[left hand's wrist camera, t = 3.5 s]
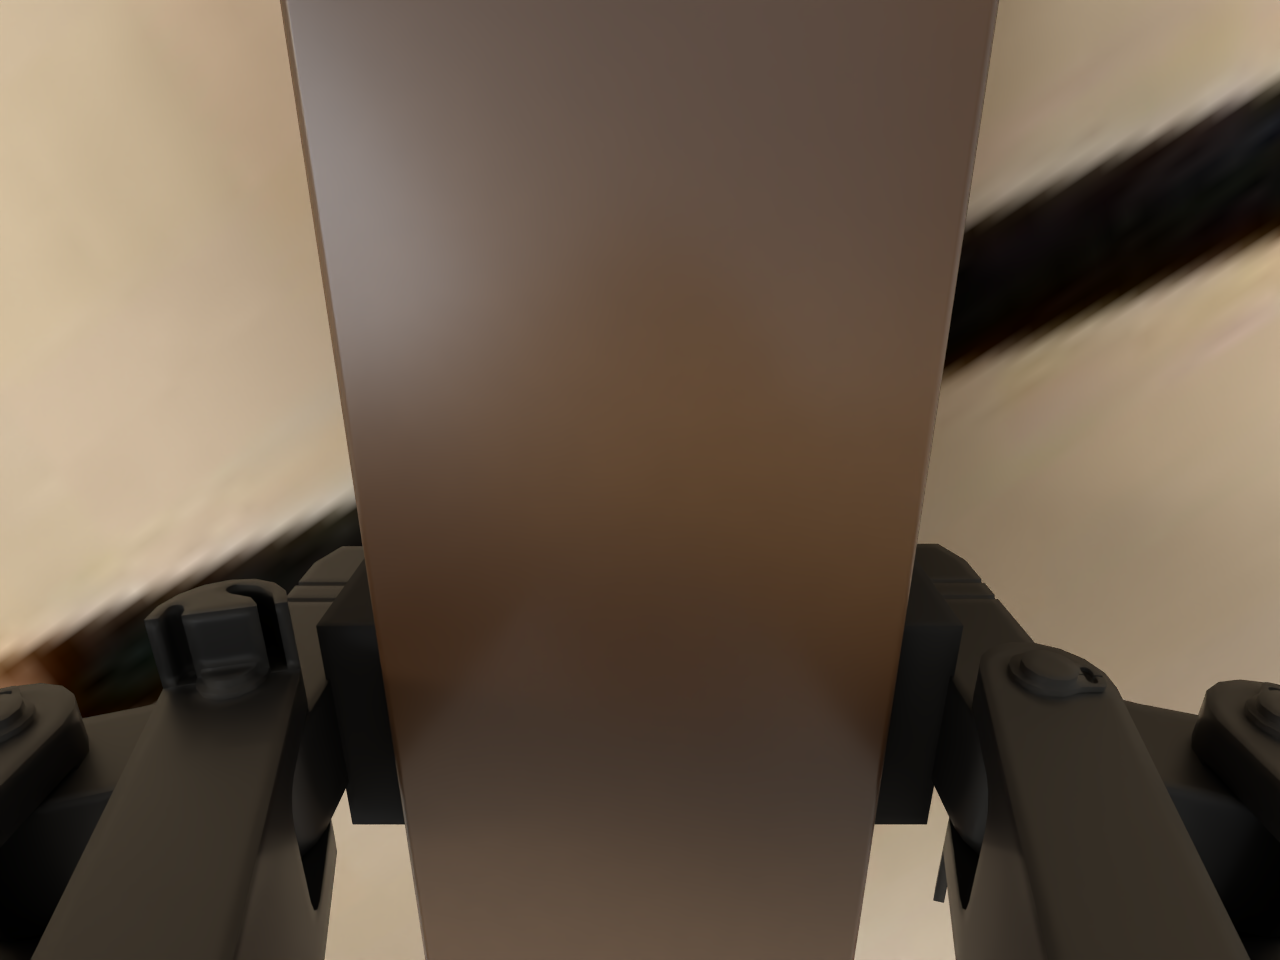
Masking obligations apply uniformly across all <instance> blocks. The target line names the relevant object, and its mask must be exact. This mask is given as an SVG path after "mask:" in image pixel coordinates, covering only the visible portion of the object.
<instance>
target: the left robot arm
mask: <svg viewBox="0 0 1280 960" xmlns="http://www.w3.org/2000/svg"><path fill="white" fill-rule="evenodd" d="M994 596H995V595H994V594H993V593H992V591H991V590H990V589H989V588H988V587H987V586H986V584H985V583H981V578H980V577H979V576H978V575H977V574H976V572H975V571H974V570H973V569H972V568H971V566H970V565H969V564H968V563H967V562H966V560H964V559H962V558H961V557H959V556H957V555H956V554H954V553H952V552H951V551H949V550H947V549H945V548H944V547H942V546H940V545H939V544H917V546H916V553H915V559H914V566H913V572H912V579H911V586H910V592H909V599H908V606H907V612H906V619H905V625H904V632H903V639H902V645H901V652H900V658H899V665H898V672H897V678H896V685H895V692H894V698H893V705H892V711H891V718H890V725H889V731H888V738H887V744H886V751H885V758H884V764H883V771H882V778H881V784H880V791H879V797H878V804H877V811H876V817H875V824H927V821H928V815H929V810H930V804H931V799H932V793H933V788H934V786H935V788H936V790H937V792H938V794H939V796H940V799H941V801H942V803H943V805H944V807H945V809H946V811H947V813H948V815H949V821H948V826H947V831H946V836H945V841H944V846H943V851H942V856H941V861H940V866H939V872H938V877H937V882H936V887H935V893H934V901H938V902H943V903H944V899H945V894H946V889H947V888H948V896H949V905H950V913H951V922H952V930H953V939H954V947H955V956H956V960H1280V685H1278V684H1273V683H1269V682H1255V681H1247V680H1233V681H1225V682H1218V683H1217V684H1215V685H1214V686H1212V687H1211V688H1210V689H1208V690H1207V691H1206V694H1205V697H1204V700H1203V703H1202V706H1201V709H1200V712H1199V715H1194V714H1189V713H1184V712H1179V711H1173V710H1168V709H1163V708H1158V707H1153V706H1147V705H1142V704H1137V703H1133V702H1129V701H1125V700H1123V699H1122V697H1121V695H1120V693H1119V691H1118V689H1117V687H1116V686H1115V685H1114V684H1113V682H1112V681H1111V680H1110V679H1109V678H1108V676H1107V675H1106V674H1105V673H1104V672H1103V671H1101V670H1100V669H1098V668H1097V667H1095V666H1094V665H1092V664H1091V663H1089V662H1088V661H1086V660H1085V659H1083V658H1080V657H1078V656H1076V655H1073V654H1071V653H1068V652H1066V651H1064V650H1061V649H1058V648H1054V647H1049V646H1045V645H1041V644H1036V643H1034V642H1033V640H1032V639H1031V638H1030V637H1029V636H1028V634H1027V633H1026V632H1025V631H1024V630H1023V628H1022V627H1021V626H1020V625H1019V624H1018V622H1017V621H1016V620H1015V619H1014V618H1013V616H1012V615H1011V614H1010V613H1009V612H1008V611H1007V609H1006V608H1005V607H1004V606H1003V605H1002V603H1001V602H1000V601H999V600H998V599H995V597H994ZM144 622H145V626H146V629H147V633H148V636H149V640H150V643H151V647H152V651H153V654H154V658H155V661H156V665H157V668H158V672H159V675H160V679H161V682H162V686H163V690H162V693H161V695H160V697H159V699H158V701H157V703H156V704H152V705H148V706H144V707H140V708H135V709H129V710H124V711H119V712H114V713H109V714H104V715H98V716H93V717H88V718H83V719H82V717H81V714H80V711H79V708H78V705H77V702H76V699H75V696H74V694H73V693H71V692H70V691H69V690H67V689H66V688H64V687H63V686H59V685H51V684H43V683H38V684H30V685H22V686H10V687H6V688H1V689H0V960H324V958H325V950H326V941H327V932H328V924H329V915H330V907H331V898H332V890H333V881H334V872H335V864H336V855H337V849H336V843H335V836H334V831H333V826H332V821H331V818H332V816H333V814H334V812H335V810H336V808H337V806H338V804H339V801H340V799H341V797H342V795H343V793H344V791H345V789H346V791H347V796H348V802H349V807H350V812H351V818H352V823H353V824H405V821H404V814H403V808H402V801H401V795H400V788H399V782H398V775H397V768H396V762H395V755H394V749H393V742H392V735H391V729H390V722H389V716H388V709H387V702H386V696H385V689H384V683H383V676H382V669H381V663H380V656H379V650H378V643H377V636H376V630H375V623H374V617H373V610H372V603H371V597H370V590H369V584H368V577H367V570H366V564H365V557H364V551H363V546H342V547H340V548H339V549H337V550H335V551H334V552H332V553H330V554H329V555H327V556H325V557H324V558H322V559H320V560H319V561H317V562H315V563H314V564H313V565H312V567H311V568H310V569H309V570H308V571H307V573H306V574H305V575H304V576H303V577H302V579H301V580H300V581H299V586H295V587H294V588H293V589H292V591H291V592H290V593H289V594H288V595H286V590H284V589H283V588H281V587H280V586H278V585H277V584H276V583H273V582H268V581H263V580H258V579H240V580H228V581H223V582H218V583H213V584H207V585H203V586H201V587H198V588H195V589H192V590H189V591H187V592H184V593H181V594H178V595H177V596H175V597H173V598H171V599H170V600H168V601H166V602H164V603H163V604H161V605H159V606H157V607H156V608H155V609H154V610H153V611H152V612H151V613H150V615H149V616H148V617H147V618H146V619H145V620H144Z"/></svg>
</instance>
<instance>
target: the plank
mask: <svg viewBox="0 0 1280 960" xmlns="http://www.w3.org/2000/svg"><path fill="white" fill-rule="evenodd" d="M280 3H281V10H282V16H283V23H284V30H285V36H286V43H287V49H288V56H289V63H290V69H291V76H292V82H293V89H294V96H295V102H296V109H297V115H298V122H299V129H300V135H301V142H302V148H303V155H304V162H305V168H306V175H307V181H308V188H309V195H310V201H311V208H312V214H313V221H314V228H315V234H316V241H317V247H318V254H319V260H320V267H321V274H322V280H323V287H324V293H325V300H326V307H327V313H328V320H329V326H330V333H331V340H332V346H333V353H334V359H335V366H336V373H337V379H338V386H339V392H340V399H341V406H342V412H343V419H344V425H345V432H346V439H347V445H348V452H349V458H350V465H351V472H352V478H353V485H354V491H355V498H356V505H357V511H358V518H359V524H360V531H361V538H362V544H363V551H364V557H365V564H366V570H367V577H368V584H369V590H370V597H371V603H372V610H373V617H374V623H375V630H376V636H377V643H378V650H379V656H380V663H381V669H382V676H383V683H384V689H385V696H386V702H387V709H388V716H389V722H390V729H391V735H392V742H393V749H394V755H395V762H396V768H397V775H398V782H399V788H400V795H401V801H402V808H403V814H404V821H405V828H406V834H407V841H408V847H409V854H410V861H411V867H412V874H413V880H414V887H415V894H416V900H417V907H418V913H419V920H420V927H421V933H422V940H423V946H424V953H425V960H854V956H855V950H856V943H857V936H858V930H859V923H860V916H861V910H862V903H863V897H864V890H865V883H866V877H867V870H868V864H869V857H870V850H871V844H872V837H873V830H874V824H875V817H876V811H877V804H878V797H879V791H880V784H881V778H882V771H883V764H884V758H885V751H886V744H887V738H888V731H889V725H890V718H891V711H892V705H893V698H894V692H895V685H896V678H897V672H898V665H899V658H900V652H901V645H902V639H903V632H904V625H905V619H906V612H907V606H908V599H909V592H910V586H911V579H912V572H913V566H914V559H915V553H916V546H917V539H918V533H919V526H920V520H921V513H922V506H923V500H924V493H925V486H926V480H927V473H928V467H929V460H930V453H931V447H932V440H933V434H934V427H935V420H936V414H937V407H938V400H939V394H940V387H941V381H942V374H943V367H944V361H945V354H946V348H947V341H948V334H949V328H950V321H951V314H952V308H953V301H954V295H955V288H956V281H957V275H958V268H959V262H960V255H961V248H962V242H963V235H964V229H965V222H966V215H967V209H968V202H969V195H970V189H971V182H972V176H973V169H974V162H975V156H976V149H977V143H978V136H979V129H980V123H981V116H982V109H983V103H984V96H985V90H986V83H987V76H988V70H989V63H990V57H991V50H992V43H993V37H994V30H995V23H996V17H997V10H998V4H999V0H280Z"/></svg>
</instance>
